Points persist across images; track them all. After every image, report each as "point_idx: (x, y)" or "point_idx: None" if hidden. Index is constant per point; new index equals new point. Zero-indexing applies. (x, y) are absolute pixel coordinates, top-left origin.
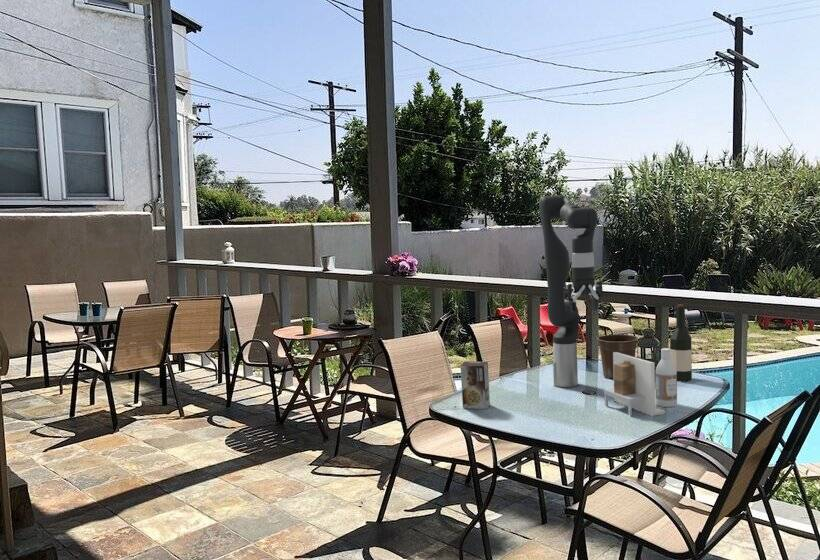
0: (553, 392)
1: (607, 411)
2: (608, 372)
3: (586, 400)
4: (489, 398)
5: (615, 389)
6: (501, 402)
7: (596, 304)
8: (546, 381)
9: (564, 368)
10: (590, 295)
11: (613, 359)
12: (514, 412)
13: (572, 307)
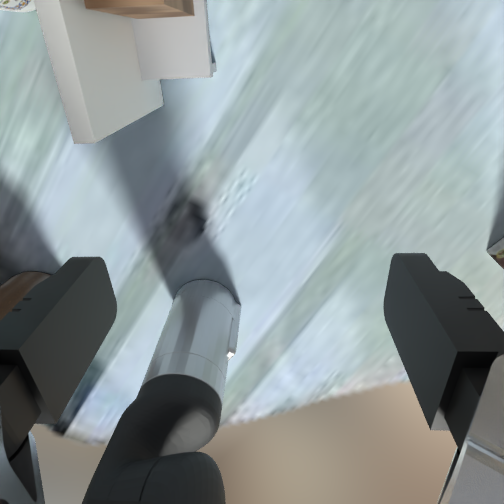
0: (273, 263)
1: (241, 8)
2: None
3: (235, 156)
4: (498, 258)
5: (191, 5)
6: (447, 252)
7: (43, 295)
8: None
9: (214, 319)
10: (38, 494)
11: (109, 133)
12: (491, 153)
13: (480, 305)
